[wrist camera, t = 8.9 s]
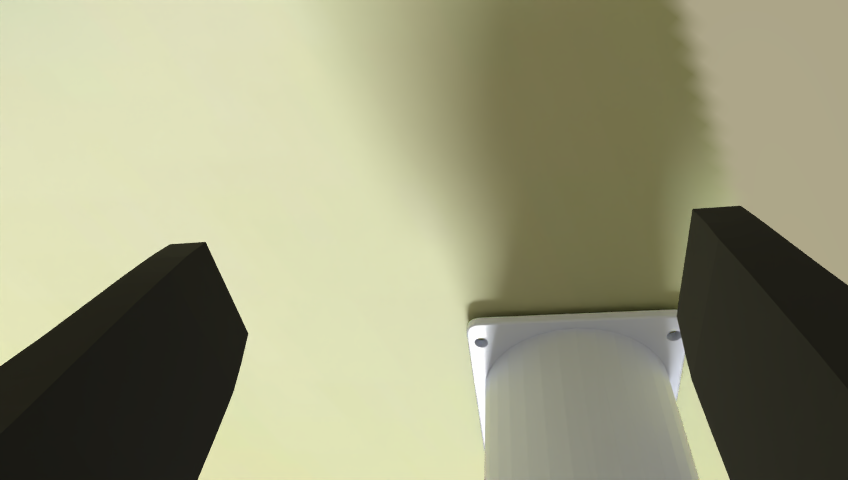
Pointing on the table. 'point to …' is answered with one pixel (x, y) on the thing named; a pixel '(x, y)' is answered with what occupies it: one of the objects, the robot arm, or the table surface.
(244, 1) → the table surface
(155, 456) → the robot arm
